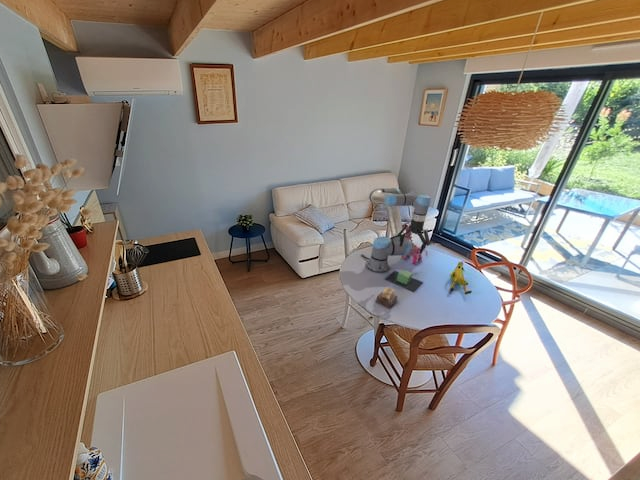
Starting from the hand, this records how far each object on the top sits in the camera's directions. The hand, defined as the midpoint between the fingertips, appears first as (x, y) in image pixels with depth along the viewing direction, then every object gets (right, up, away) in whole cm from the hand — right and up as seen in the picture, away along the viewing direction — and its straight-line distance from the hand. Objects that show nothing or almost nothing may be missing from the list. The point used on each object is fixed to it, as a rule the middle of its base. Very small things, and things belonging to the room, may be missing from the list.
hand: (410, 249), depth 188 cm
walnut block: (-20, -33, -11) cm, 40 cm away
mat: (-1, -22, +8) cm, 23 cm away
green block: (-1, -21, +8) cm, 23 cm away
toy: (+15, -7, +34) cm, 38 cm away
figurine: (+36, -23, +6) cm, 43 cm away
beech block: (-20, -29, -13) cm, 38 cm away
